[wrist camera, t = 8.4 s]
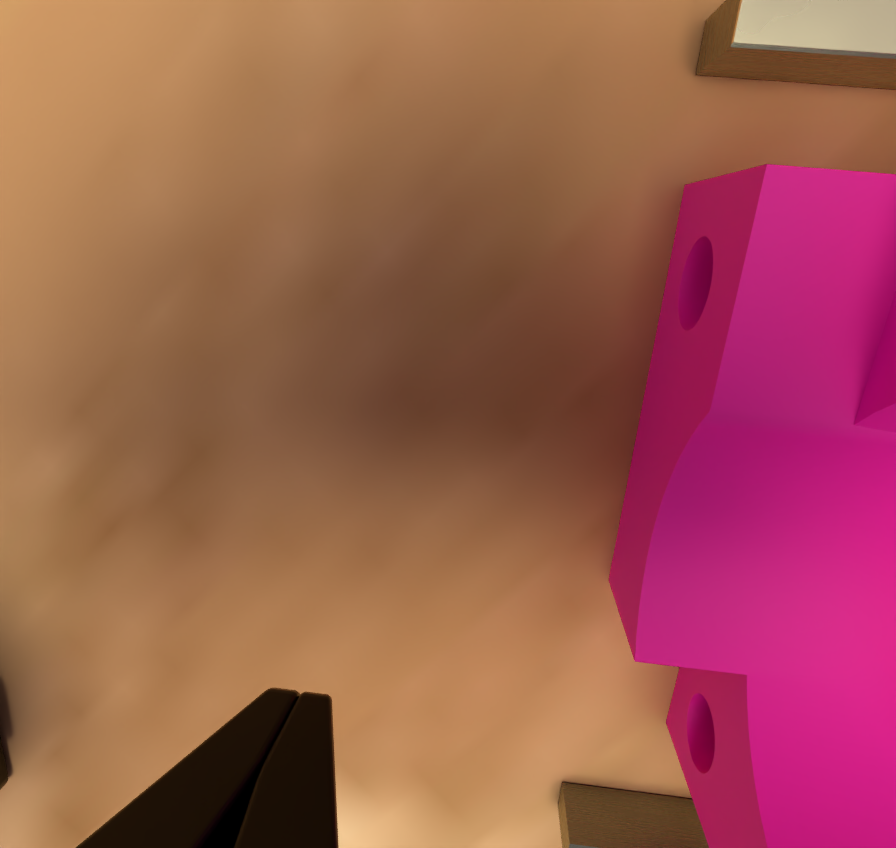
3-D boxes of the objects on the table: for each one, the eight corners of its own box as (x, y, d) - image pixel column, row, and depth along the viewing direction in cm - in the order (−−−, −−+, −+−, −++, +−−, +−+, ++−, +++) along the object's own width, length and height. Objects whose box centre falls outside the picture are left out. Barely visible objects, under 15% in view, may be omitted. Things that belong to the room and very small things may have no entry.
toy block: (681, 185, 14) (885, 134, 6) (964, 208, 13) (1503, 181, 6) (582, 706, 18) (636, 1009, 11) (789, 732, 18) (980, 1060, 11)
